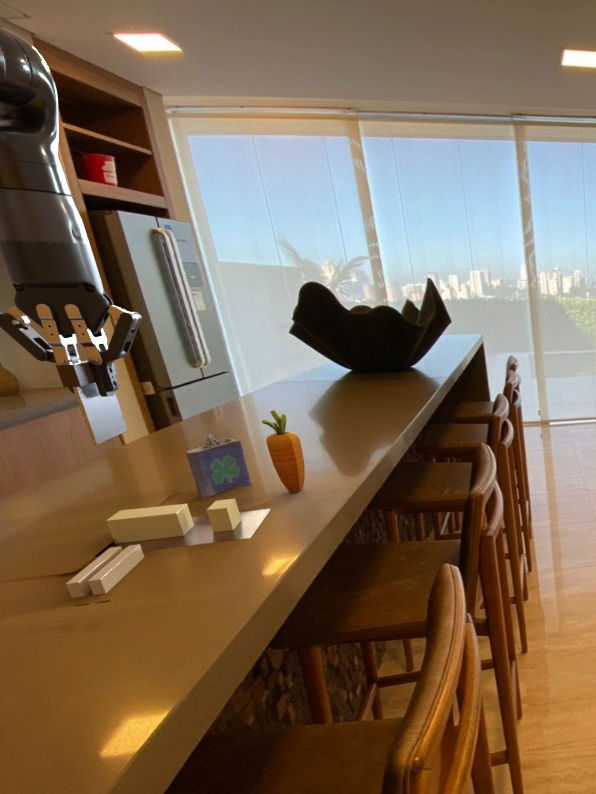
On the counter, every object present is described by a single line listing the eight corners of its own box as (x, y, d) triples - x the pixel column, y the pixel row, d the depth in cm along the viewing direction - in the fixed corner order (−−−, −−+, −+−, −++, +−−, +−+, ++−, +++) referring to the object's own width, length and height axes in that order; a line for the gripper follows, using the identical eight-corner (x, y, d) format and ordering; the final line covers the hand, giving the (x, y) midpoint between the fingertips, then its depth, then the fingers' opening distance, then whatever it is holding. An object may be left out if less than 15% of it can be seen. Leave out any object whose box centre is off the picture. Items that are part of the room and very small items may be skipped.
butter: (114, 544, 77) (105, 520, 76) (128, 533, 81) (119, 510, 79) (184, 536, 80) (176, 513, 78) (194, 525, 83) (187, 503, 82)
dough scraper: (101, 446, 67) (72, 364, 64) (84, 447, 67) (55, 365, 63) (135, 429, 75) (111, 355, 72) (120, 430, 75) (95, 356, 71)
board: (93, 565, 74) (90, 557, 73) (135, 530, 84) (132, 523, 84) (251, 546, 79) (249, 538, 79) (272, 515, 90) (270, 508, 89)
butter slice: (213, 532, 81) (206, 509, 79) (222, 522, 84) (215, 500, 83) (233, 530, 81) (226, 507, 80) (241, 520, 85) (235, 498, 84)
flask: (208, 504, 94) (189, 442, 90) (195, 502, 95) (175, 440, 91) (256, 486, 103) (241, 429, 99) (244, 485, 103) (228, 428, 99)
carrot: (309, 501, 96) (288, 413, 90) (276, 504, 94) (253, 415, 89) (316, 491, 100) (296, 407, 95) (285, 494, 99) (263, 409, 93)
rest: (109, 602, 65) (100, 579, 64) (75, 606, 64) (65, 583, 63) (147, 564, 74) (140, 544, 73) (117, 568, 73) (109, 547, 72)
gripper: (134, 244, 68) (176, 389, 75) (-14, 239, 64) (43, 393, 70) (103, 239, 62) (152, 398, 68) (-65, 234, 57) (4, 405, 64)
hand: (96, 395), depth 69 cm, fingers closed on dough scraper, 1 cm apart
